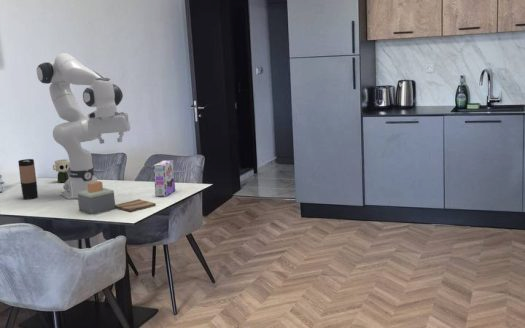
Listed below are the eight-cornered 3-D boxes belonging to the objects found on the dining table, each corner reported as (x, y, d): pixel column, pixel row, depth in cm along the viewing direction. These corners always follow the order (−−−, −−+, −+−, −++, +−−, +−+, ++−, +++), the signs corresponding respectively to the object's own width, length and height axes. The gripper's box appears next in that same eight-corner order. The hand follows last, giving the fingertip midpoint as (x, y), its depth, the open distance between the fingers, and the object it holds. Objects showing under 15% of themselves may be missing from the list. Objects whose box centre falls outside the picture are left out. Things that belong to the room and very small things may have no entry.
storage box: (79, 210, 267) (77, 194, 266) (102, 205, 276) (100, 189, 274) (92, 214, 259) (90, 197, 257) (115, 209, 267) (113, 192, 266)
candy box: (166, 197, 287) (163, 164, 284) (155, 196, 288) (152, 164, 285) (175, 190, 300) (173, 159, 297) (165, 190, 301) (162, 160, 298)
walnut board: (114, 207, 270) (113, 205, 270) (139, 201, 280) (139, 199, 279) (130, 212, 260) (129, 209, 260) (155, 205, 270) (155, 203, 270)
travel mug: (25, 196, 301) (20, 159, 298) (40, 195, 302) (35, 158, 298) (20, 200, 294) (15, 162, 290) (35, 199, 295) (31, 161, 291)
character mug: (57, 184, 329) (55, 162, 327) (51, 183, 334) (49, 161, 332) (75, 181, 337) (72, 159, 335) (69, 179, 342) (66, 158, 339)
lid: (77, 196, 266) (76, 183, 265) (100, 191, 274) (99, 178, 273) (90, 199, 258) (89, 186, 256) (114, 194, 266) (112, 182, 265)
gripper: (130, 110, 263) (134, 140, 265) (91, 114, 269) (95, 143, 270) (123, 111, 257) (127, 141, 259) (84, 115, 263) (88, 145, 264)
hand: (111, 142), depth 265 cm, fingers open, 8 cm apart
